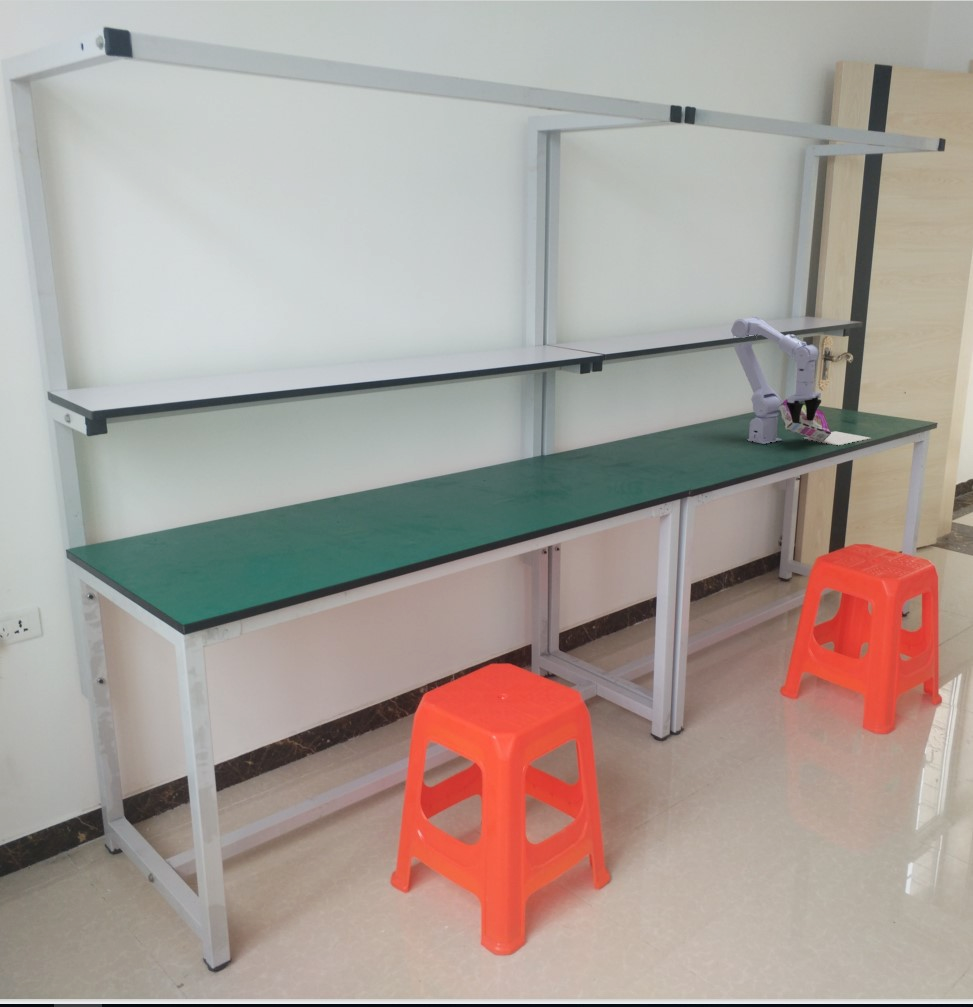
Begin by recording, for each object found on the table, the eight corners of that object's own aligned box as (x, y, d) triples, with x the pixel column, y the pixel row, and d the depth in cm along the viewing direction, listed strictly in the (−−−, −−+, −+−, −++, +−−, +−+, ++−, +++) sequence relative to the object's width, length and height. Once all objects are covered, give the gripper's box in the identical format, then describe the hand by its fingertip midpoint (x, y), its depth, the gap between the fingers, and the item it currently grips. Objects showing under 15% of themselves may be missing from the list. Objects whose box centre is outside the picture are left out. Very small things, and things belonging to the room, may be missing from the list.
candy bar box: (832, 433, 334) (794, 421, 328) (823, 442, 338) (785, 430, 332) (823, 410, 341) (786, 397, 335) (814, 419, 345) (777, 407, 339)
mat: (838, 445, 333) (838, 444, 332) (802, 439, 345) (803, 437, 344) (871, 438, 342) (871, 437, 342) (835, 432, 354) (835, 431, 354)
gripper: (800, 385, 320) (798, 425, 323) (829, 380, 327) (826, 420, 331) (783, 382, 325) (781, 422, 329) (811, 378, 333) (809, 417, 336)
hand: (803, 421), depth 330 cm, fingers open, 7 cm apart
